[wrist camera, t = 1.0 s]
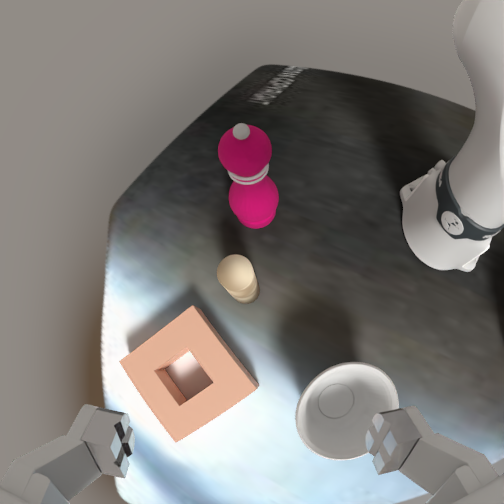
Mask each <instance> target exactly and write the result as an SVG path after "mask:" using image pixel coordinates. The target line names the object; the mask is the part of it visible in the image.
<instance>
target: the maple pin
mask: <svg viewBox="0 0 504 504" xmlns="http://www.w3.org/2000/svg"><path fill="white" fill-rule="evenodd" d="M217 277H218V280H219V282H220V283H221V284H222V285H223V286H224V288H225V289H226V290H227V291H228V292H229V293H230V294H231V295H232V296H233V297H234V298H235V299H236V300H237V301H238V302H240V303H242V304H249V303H252V302H254V301H255V300H256V299H257V298H258V296H259V292H260V288H259V285H258V282H257V279H256V276H255V273H254V270H253V267H252V265H251V263H250V261H249V260H248V259H247V258H245V257H244V256H242V255H230V256H227V257H225V258H224V259H223V260H222V261H221V262H220V264H219V266H218V269H217Z"/></svg>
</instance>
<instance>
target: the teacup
mask: <svg viewBox="0 0 504 504" xmlns="http://www.w3.org/2000/svg"><path fill="white" fill-rule="evenodd" d="M398 407H399V402H398V395H397V391H396V388H395V386H394V384H393V382H392V380H391V379H390V378H389V376H388V375H387V374H386V373H385V372H383V371H382V370H381V369H379V368H377V367H375V366H373V365H370V364H367V363H362V362H346V363H341V364H338V365H334V366H332V367H330V368H328V369H326V370H324V371H323V372H321V373H320V374H319V375H317V376H316V377H315V378H314V379H313V380H312V381H311V382H310V383H309V384H308V385H307V387H306V388H305V390H304V391H303V393H302V395H301V397H300V399H299V401H298V404H297V408H296V418H295V419H296V427H297V431H298V434H299V436H300V438H301V440H302V441H303V443H304V444H305V445H306V447H307V448H308V449H310V450H311V451H312V452H313V453H315V454H317V455H319V456H321V457H323V458H327V459H331V460H350V459H355V458H358V457H361V456H363V455H365V454H367V453H369V452H368V450H367V447H366V442H365V441H366V434H367V431H368V429H369V428H370V427H371V426H372V425H374V424H373V422H372V420H373V417H374V415H375V414H377V413H380V412H385V411H390V410H395V409H398Z"/></svg>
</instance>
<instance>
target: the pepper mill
mask: <svg viewBox="0 0 504 504" xmlns="http://www.w3.org/2000/svg"><path fill="white" fill-rule="evenodd" d="M271 153H272V147H271V143H270V140H269V138H268V136H267V135H266V134H265V133H264V132H263V131H262V130H261V129H259V128H257V127H255V126H252V125H246V124H243V123H239V124H237V125H236V126H235V127H233V128H231V129H230V130H228V131H227V132H226V133H225V134H224V135H223V136H222V138H221V140H220V142H219V145H218V155H219V159H220V161H221V163H222V165H223V166H224V168H226V169H227V170H228V174H229V176H230V177H231V179H232V180H234V181H233V183H232V185H231V187H230V190H229V203H230V207H231V209H232V211H233V212H234V213H235V215H237V217H238V219H239V221H240V222H241V223H242V224H243V225H245V226H246V227H249V228H262V227H264V226H266V225H268V224H269V223H270V222H271V221H272V220H273V219H274V217H275V213H276V208H277V205H278V201H279V195H278V190H277V187H276V185H275V184H274V182H273V181H272V180H271V179H270V178H269V177H268V176H267V175H266V174H267V173H268V169H269V164H268V163H269V160H270V158H271Z"/></svg>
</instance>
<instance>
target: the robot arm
mask: <svg viewBox="0 0 504 504" xmlns="http://www.w3.org/2000/svg"><path fill="white" fill-rule="evenodd" d="M453 39H454V44H455V48H456V51H457V54H458V57H459V59H460V60H461V62H462V63H463V65H464V67H465V69H466V71H467V74H468V76H469V78H470V81H471V84H472V87H473V91H474V96H475V102H476V103H475V104H476V116H475V122H474V126H473V129H472V131H471V133H470V135H469V137H468V139H467V140H466V142H465V144H464V146H463V147H462V149H461V150H460V152H459V153H458V155H456V156H454V157H452V158H451V159H450V160H449V161H448V162H447V163H445V162H444V160H441V161H439V162H438V163H437V164H436V165H435V167H434V168H435V169H434V168H432V169H430V170H429V171H428V174H426V175H424V176H422V177H420V178H419V179H417V180H415V181H413V182H411V183H409V184H407V185H406V186H404V187H403V188H402V189H401V190H400V197H401V201H402V204H403V216H402V225H403V231H404V235H405V238H406V240H407V242H408V244H409V246H410V248H411V249H412V251H413V252H414V253H415V255H416V256H417V257H418V258H419V259H420V260H421V261H422V262H424V263H425V264H427V265H428V266H430V267H432V268H435V269H439V270H450V269H459V270H462V271H465V272H470V271H471V270H473V269H474V267H475V265H476V262H477V260H478V257H479V256H480V255H481V254H482V253H484V252H485V251H487V250H488V249H489V247H490V245H489V244H490V242H491V239H492V236H494V235H496V234H497V233H498V232H499V231H500V230H501V229H502V228H503V227H504V0H464V1H463V2H462V3H461V4H460V5H459V7H458V9H457V11H456V13H455V16H454V20H453ZM410 189H411V190H412V191H411V190H410ZM129 422H130V419H129V416H128V414H126V413H123V412H118V411H113V410H109V409H104V408H100V407H95V406H91V405H87V404H85V405H84V406H83V407H82V408H81V410H80V412H79V414H78V416H77V417H76V419H75V421H74V423H73V425H72V426H71V428H70V430H69V432H68V434H67V436H64V435H62V436H60V437H58V438H56V439H54V440H52V441H51V442H49V443H47V444H45V445H43V446H41V447H39V448H37V449H35V450H33V451H31V452H29V453H27V454H25V455H23V456H21V457H19V458H17V459H14V460H13V461H12V463H11V465H10V467H9V468H8V470H7V472H6V474H5V476H4V477H3V479H2V481H1V483H0V504H70V503H69V502H68V501H69V500H70V499H71V498H73V497H74V496H75V495H77V494H78V493H79V492H80V491H82V490H83V489H84V488H86V487H87V486H88V485H89V484H91V482H93V481H94V480H96V479H97V478H98V477H99V476H100V475H101V473H103V474H107V475H112V476H116V477H121V478H125V477H126V473H127V470H128V467H129V462H128V459H127V457H129V456H130V455H131V454H132V453H133V450H134V443H135V437H134V432H133V429H132V428H131V427H130V426H129ZM372 422H373V424H374V425H372V426H371V427H370V428H369V429H368V431H367V434H366V441H365V442H366V447H367V450H368V452H369V453H370V454H372V455H373V456H374V459H373V461H372V462H373V464H374V466H375V468H376V471H377V473H378V475H380V474H384V473H388V472H392V471H396V470H399V471H400V472H401V473H402V474H404V475H405V476H406V477H408V478H409V479H411V480H412V481H413V482H415V483H416V484H417V485H419V486H420V487H422V488H423V489H424V490H426V491H427V492H429V493H430V494H432V495H433V496H432V497H431V498H430V499H429V500H428V501H427V502H426V503H425V504H504V473H503V474H502V475H500V476H499V475H498V474H497V472H496V471H495V469H494V468H493V466H492V465H491V463H490V462H489V461H488V459H487V458H486V456H485V455H484V454H482V453H480V452H477V451H475V450H473V449H471V448H468V447H466V446H464V445H462V444H460V443H458V442H455V441H453V440H451V439H449V438H447V437H445V436H443V435H441V434H439V433H436V434H434V432H433V431H432V429H431V428H430V426H429V425H428V423H427V422H426V420H425V419H424V417H423V416H422V415H421V413H420V412H419V410H418V409H417V407H415V406H409V407H405V408H399V409H395V410H390V411H385V412H380V413H377V414H375V415H374V417H373V420H372Z"/></svg>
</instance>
